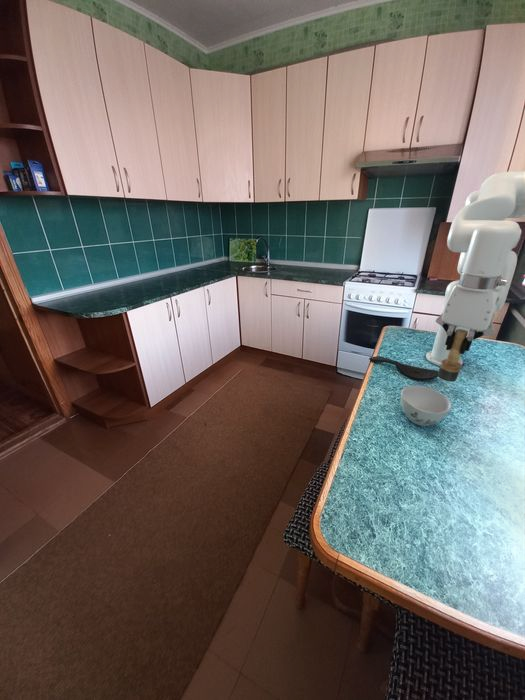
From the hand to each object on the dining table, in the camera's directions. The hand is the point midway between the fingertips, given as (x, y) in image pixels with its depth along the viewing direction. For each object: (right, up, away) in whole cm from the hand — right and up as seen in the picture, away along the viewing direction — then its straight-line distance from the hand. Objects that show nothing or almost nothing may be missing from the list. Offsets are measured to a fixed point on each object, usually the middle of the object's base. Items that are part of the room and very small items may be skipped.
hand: (456, 349), depth 76 cm
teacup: (-5, -20, +9) cm, 23 cm away
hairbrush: (+1, -8, +33) cm, 34 cm away
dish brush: (0, -8, +4) cm, 9 cm away
